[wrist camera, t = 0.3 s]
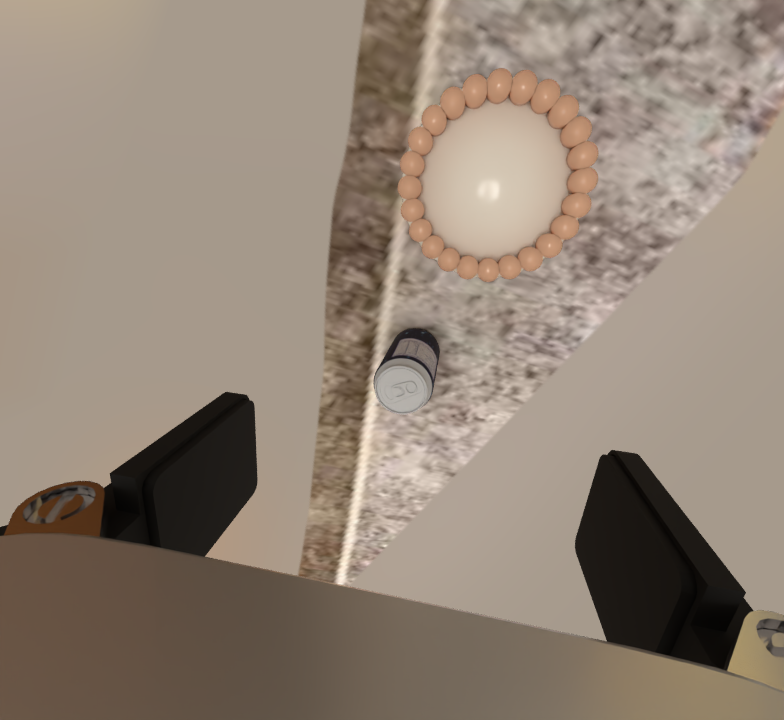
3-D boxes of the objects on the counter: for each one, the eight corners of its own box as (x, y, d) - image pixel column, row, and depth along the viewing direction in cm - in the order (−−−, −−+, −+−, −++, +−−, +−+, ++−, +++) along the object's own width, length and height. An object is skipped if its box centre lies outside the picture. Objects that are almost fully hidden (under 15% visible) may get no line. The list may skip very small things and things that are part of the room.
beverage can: (386, 333, 47) (362, 370, 36) (432, 320, 45) (421, 354, 34) (401, 376, 49) (382, 424, 37) (445, 365, 47) (439, 411, 36)
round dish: (381, 120, 39) (374, 113, 37) (574, 45, 35) (583, 31, 32) (427, 295, 45) (424, 301, 42) (600, 251, 40) (610, 253, 37)
